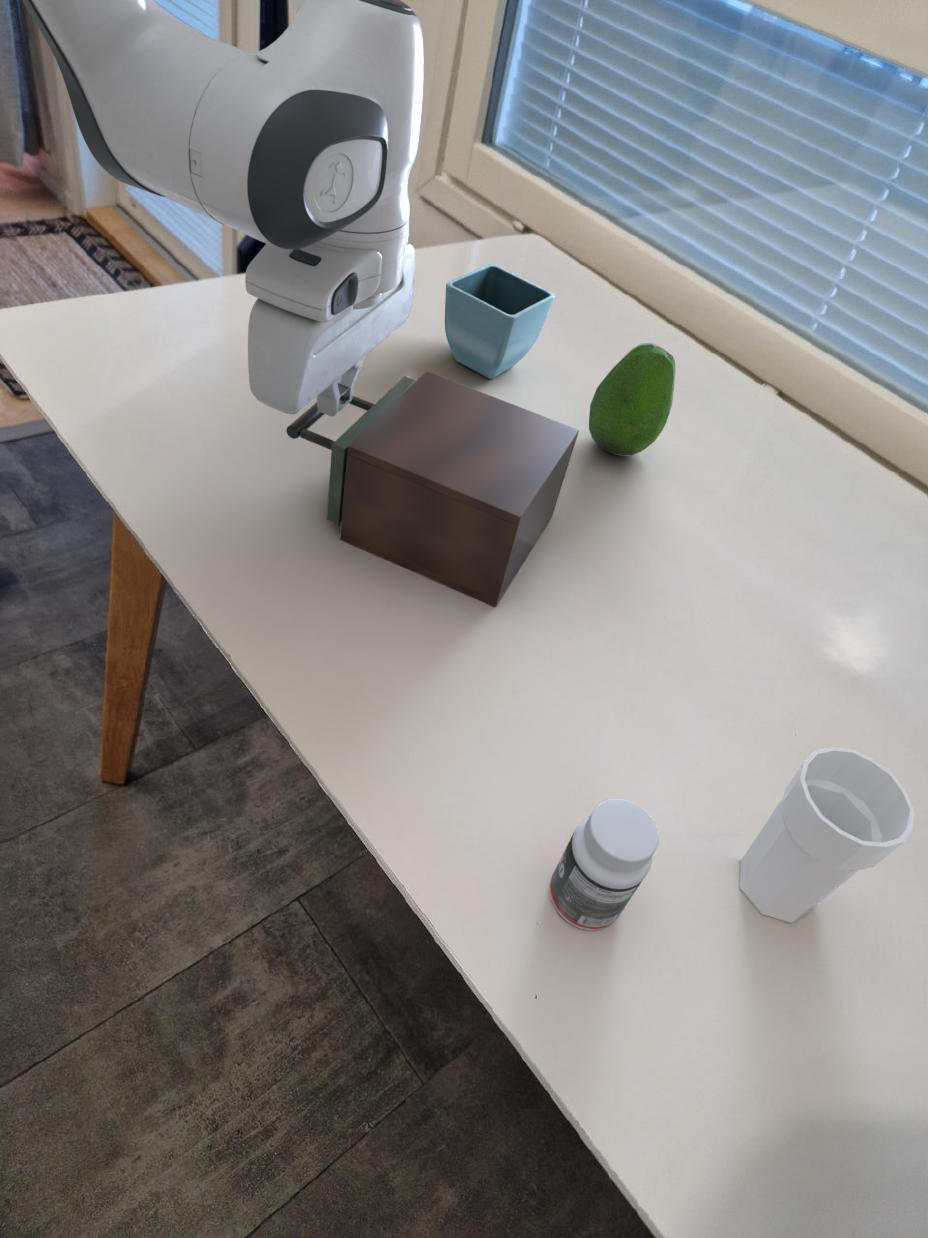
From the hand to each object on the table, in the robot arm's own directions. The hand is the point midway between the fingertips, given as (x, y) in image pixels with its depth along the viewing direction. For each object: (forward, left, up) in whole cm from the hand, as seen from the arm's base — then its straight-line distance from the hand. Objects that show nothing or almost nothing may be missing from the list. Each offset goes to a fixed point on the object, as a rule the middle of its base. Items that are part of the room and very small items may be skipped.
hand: (334, 407), depth 74 cm
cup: (+18, -47, -8) cm, 51 cm away
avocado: (+31, 0, -8) cm, 32 cm away
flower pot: (+23, +17, -8) cm, 29 cm away
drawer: (+5, -5, -6) cm, 10 cm away
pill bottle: (+5, -44, -8) cm, 45 cm away
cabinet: (+9, -9, -7) cm, 14 cm away
